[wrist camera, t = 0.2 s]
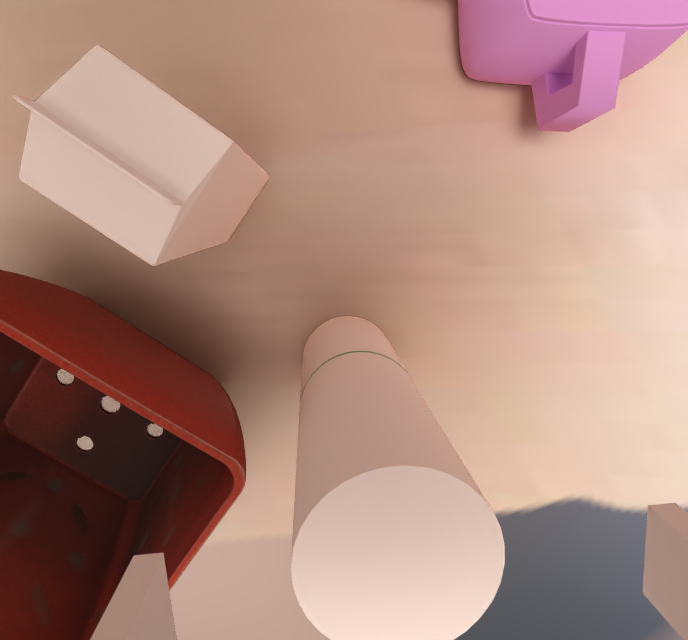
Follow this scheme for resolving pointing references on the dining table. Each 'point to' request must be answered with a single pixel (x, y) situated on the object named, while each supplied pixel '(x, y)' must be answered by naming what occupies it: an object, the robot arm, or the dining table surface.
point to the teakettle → (566, 49)
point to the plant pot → (99, 458)
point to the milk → (135, 161)
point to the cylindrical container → (383, 501)
